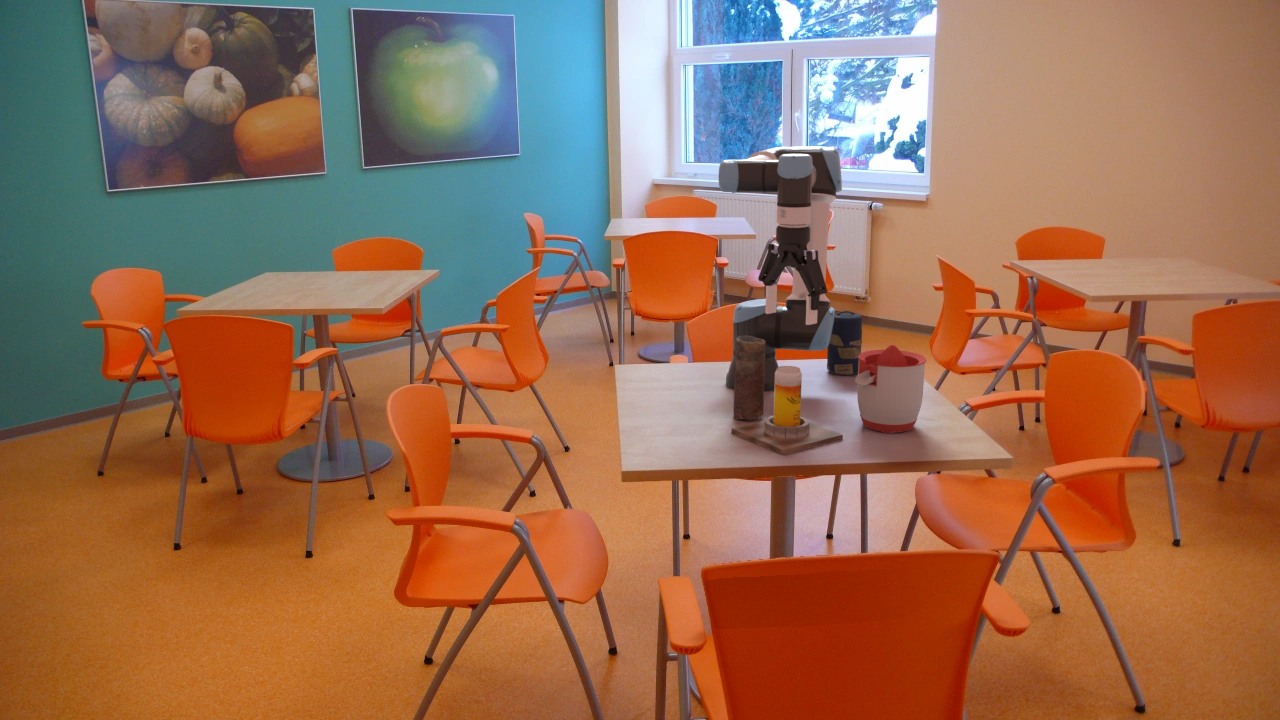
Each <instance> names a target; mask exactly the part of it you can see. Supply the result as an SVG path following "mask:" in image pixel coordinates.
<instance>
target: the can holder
mask: <svg viewBox="0 0 1280 720" xmlns="http://www.w3.org/2000/svg"><path fill="white" fill-rule="evenodd" d="M773 420H774V415H771V416H767V417H766V418H765V419H764V420H762V421H758V422H754V423H749V424H745V425H741V426H737V427H733V428H731V434H732V435H734V436H736V437H740V438H742V439H744V440H746V441H749V442H750V443H753V444H756V445H759V446H761V447H763V448H766V449H768V450H771V451H773V452H776V453H778V454H780V455H783V456H784V455H788V454H791V453H797V452H800V451H804V450H808V449H812V448H815V447H819V446H823V445H827V444H831V443H835V442H838V441H839V442H840V441H842V440H843V439H844V438H843V436H844V435H843V434H842V433H839V432H837V431H834V430H832V429H829V428H826V427H823V426H821V425H818V424H815V423H812V422H810V421H809V420H808V418H807V417H803V416H801V415H800V426H795V427H784V426H777V425H774V424H773Z"/></svg>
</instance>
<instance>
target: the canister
mask: <svg viewBox="0 0 1280 720" xmlns="http://www.w3.org/2000/svg"><path fill="white" fill-rule="evenodd" d="M862 338H863V317H862V315H861V314H860V313H858V312H857V313H856V312H853V311H849V310H843V311H839V312H835V315H834V323H833V328H832V333H831V338H830V342H829V345H828V347H827V348H826V351H827V352H826V353H827V354H826V355H827V356H826V357H827V358H826V359H827V360H826V370H827V371H828V372H830V373H832V374H835V375H842V376H849V375H850V376H851V375H855V374H858V366H859V359H858V355H859V354H860V353H862V345H863V344H862V343H863V339H862Z"/></svg>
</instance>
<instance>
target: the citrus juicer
mask: <svg viewBox="0 0 1280 720" xmlns="http://www.w3.org/2000/svg"><path fill="white" fill-rule="evenodd" d="M858 359H859V366H858V373H857V375H856V377H855V379H854V380H855V381H854V382H855V383H856V384H857V387H856V389H857V390H856V391H857V397H856V398H857V404H858V410H859V411H858V412H859V416H860V419H861V422H862V424H863V426H865V427H866V428H867V429H870V430H872V431H873V430H874V431H877V432H883V434H884V433H885V434H892V433H902V432H908V431H911V430H912V429H913V428H914V425H915V424H916V423H917V420H918V417H919V414H920V411H921V407H922V404H923V397H924V385H925V384H924V383H925V369H926V368H925V367H926V362H927V358H926V356H924V355H921V354H920V353H917V352H912V351H908V350H907V351H906V350H900V349H899V348H898V347H897V346H896V345H895V344H890V345H889V346H888V347H886V348H885V349H870V350H866V351H861V353H860V354H859V355H858Z"/></svg>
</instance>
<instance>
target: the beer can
mask: <svg viewBox="0 0 1280 720" xmlns="http://www.w3.org/2000/svg"><path fill="white" fill-rule="evenodd" d="M802 375H803V374H802V372H801V368H800V367H798V366H795V365H794V366H792V365H782V366H778V368H777V370H776V372H775V384H774V390H773V391H774V392H773V416H774V420H773V424H774V425H777V426H784V427H795V426H800V416H801V409H802V408H801V407H802V406H801V405H802Z"/></svg>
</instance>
